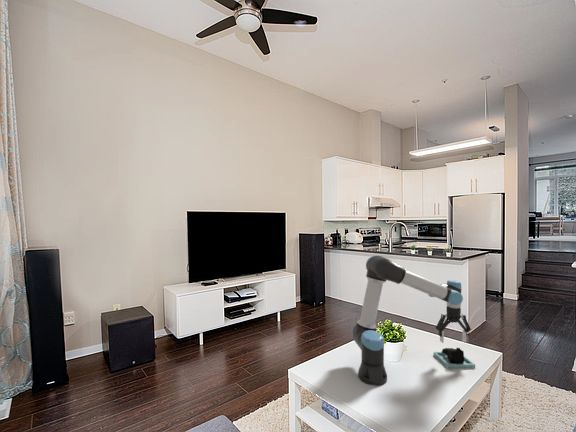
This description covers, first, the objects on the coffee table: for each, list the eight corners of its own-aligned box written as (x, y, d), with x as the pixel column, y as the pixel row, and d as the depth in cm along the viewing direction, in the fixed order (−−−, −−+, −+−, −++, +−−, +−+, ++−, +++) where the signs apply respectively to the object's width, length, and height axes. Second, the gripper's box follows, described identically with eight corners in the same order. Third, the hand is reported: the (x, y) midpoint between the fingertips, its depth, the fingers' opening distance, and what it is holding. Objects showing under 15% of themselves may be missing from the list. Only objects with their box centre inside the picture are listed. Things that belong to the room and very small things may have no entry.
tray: (447, 368, 172) (447, 364, 172) (433, 355, 188) (433, 352, 188) (475, 368, 172) (475, 364, 172) (458, 354, 188) (458, 351, 188)
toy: (453, 343, 189) (465, 349, 175) (454, 356, 188) (466, 364, 173) (438, 342, 190) (448, 348, 175) (439, 356, 189) (450, 363, 174)
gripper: (436, 308, 176) (435, 344, 176) (478, 308, 176) (477, 344, 176) (430, 304, 183) (429, 339, 183) (470, 304, 184) (469, 339, 184)
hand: (452, 341), depth 180 cm, fingers open, 13 cm apart
